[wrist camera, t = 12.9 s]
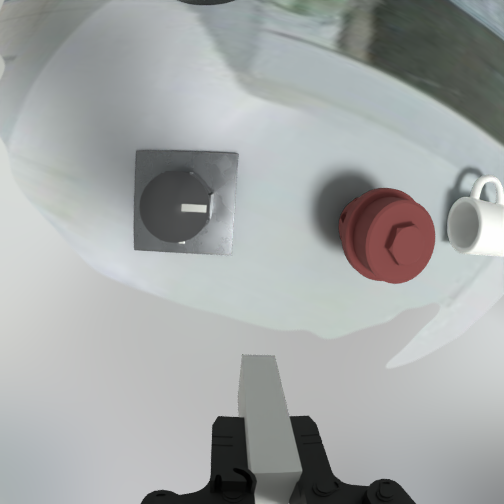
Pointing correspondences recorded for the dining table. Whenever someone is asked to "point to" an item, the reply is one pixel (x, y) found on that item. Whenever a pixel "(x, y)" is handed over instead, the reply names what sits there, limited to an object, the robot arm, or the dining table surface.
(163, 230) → the knob
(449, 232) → the mug
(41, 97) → the dining table surface
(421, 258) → the mechanical component
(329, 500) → the robot arm
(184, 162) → the metal plate
